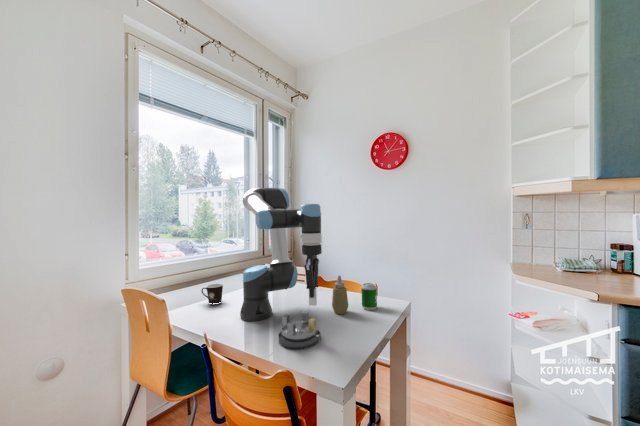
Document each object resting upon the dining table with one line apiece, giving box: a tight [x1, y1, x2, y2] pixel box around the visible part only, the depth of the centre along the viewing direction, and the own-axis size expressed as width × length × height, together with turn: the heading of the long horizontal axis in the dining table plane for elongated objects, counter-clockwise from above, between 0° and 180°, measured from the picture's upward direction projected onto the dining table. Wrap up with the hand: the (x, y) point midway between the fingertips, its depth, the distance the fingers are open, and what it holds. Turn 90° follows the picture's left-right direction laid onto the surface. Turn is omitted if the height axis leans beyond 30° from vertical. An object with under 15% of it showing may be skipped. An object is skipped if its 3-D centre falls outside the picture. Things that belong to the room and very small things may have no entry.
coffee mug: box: [201, 283, 224, 304], centre depth 148 cm, size 12×9×10 cm
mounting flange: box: [278, 328, 321, 351], centre depth 102 cm, size 16×16×2 cm
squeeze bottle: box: [331, 275, 349, 315], centre depth 128 cm, size 8×8×18 cm
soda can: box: [360, 282, 378, 311], centre depth 132 cm, size 8×8×12 cm
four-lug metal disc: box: [281, 310, 318, 342], centre depth 102 cm, size 14×14×6 cm
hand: (312, 304), depth 101 cm, fingers closed
